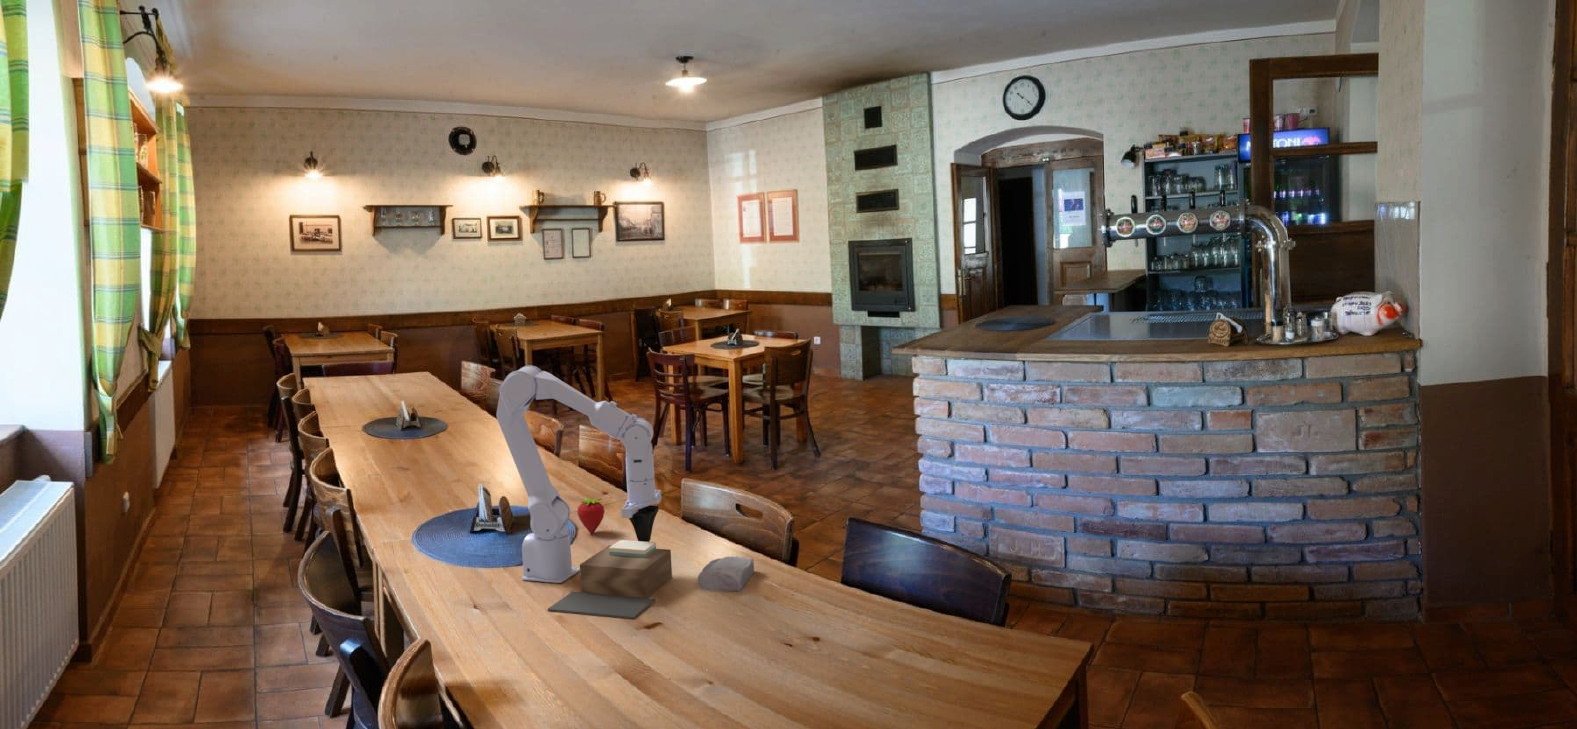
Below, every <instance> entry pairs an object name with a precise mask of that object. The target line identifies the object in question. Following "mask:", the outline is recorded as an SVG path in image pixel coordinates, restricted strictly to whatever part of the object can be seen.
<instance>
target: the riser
mask: <svg viewBox="0 0 1577 729" xmlns="http://www.w3.org/2000/svg"><path fill="white" fill-rule="evenodd" d="M612 545H613V544H612ZM612 545H611V544H610V545H608V546H606V547H605V548H603V549H602V550H601V549H600V551H598V552H597V553H595V554H594V555H593V556H590V557H589V558H588V559H586V560H585V561H583V562H582V563H580V564H579V568H580V571H579V574H580V576H579V577H580V589H581V591H580V592H586V593H597V594H608V595H619V596H631V597H642V598H651V596H652V595H654V594H655V593H656V592H657V591H658V590H660V589H661V588H662V587H663V586H664V585H666V584H667V583H668V582H669V581H671V579H673V572H672V571H673V570H672V569H673V568H672V552H671V550H672V549H666V548H656V550H655V551H653V552H652V553H651V554H649V555H648V556H647V557H645V558H644V557H631V556H617V555H609V547H611V546H612Z"/></svg>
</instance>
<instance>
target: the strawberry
mask: <svg viewBox="0 0 1577 729" xmlns="http://www.w3.org/2000/svg"><path fill="white" fill-rule="evenodd" d="M593 493H594V492H592V493H591V496H590V498H582V501H579V503H580V504H579V505H578V506H577V511H576V512H577V516H578V519H579V520H580V522H581V524H582V525H583V527H584V528H585V529H586V530H587V532H588V533H590V534H594V533H595V532H596V530H597V528H598V527H599V526H600V525H601V523H602V521H603V519H604V516H605V507H604V506H603V505H602V501H601V500H602V498H593V499H592V496H593Z"/></svg>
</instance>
